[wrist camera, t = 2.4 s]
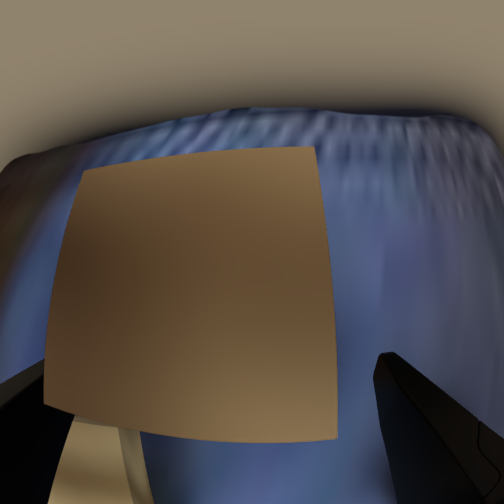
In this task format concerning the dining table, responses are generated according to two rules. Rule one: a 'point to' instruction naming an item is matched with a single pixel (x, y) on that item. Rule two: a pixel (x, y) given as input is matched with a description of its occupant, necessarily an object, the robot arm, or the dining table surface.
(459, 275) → the dining table surface
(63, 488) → the base block
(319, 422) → the column brick
